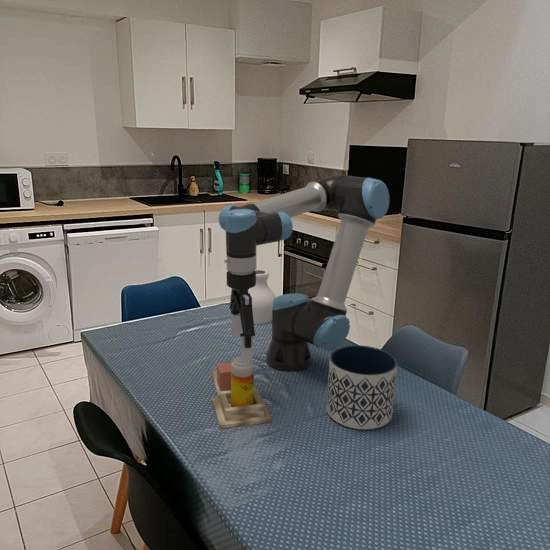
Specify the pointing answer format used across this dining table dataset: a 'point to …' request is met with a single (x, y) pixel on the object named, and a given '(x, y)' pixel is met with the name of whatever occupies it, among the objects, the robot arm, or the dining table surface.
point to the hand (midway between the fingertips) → (241, 347)
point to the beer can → (242, 381)
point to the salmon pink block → (224, 376)
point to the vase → (262, 298)
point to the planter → (361, 386)
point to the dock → (238, 409)
